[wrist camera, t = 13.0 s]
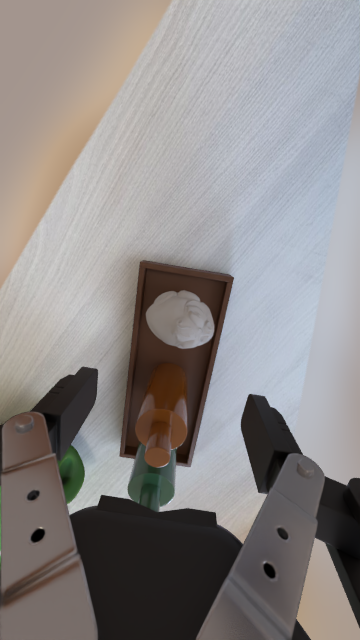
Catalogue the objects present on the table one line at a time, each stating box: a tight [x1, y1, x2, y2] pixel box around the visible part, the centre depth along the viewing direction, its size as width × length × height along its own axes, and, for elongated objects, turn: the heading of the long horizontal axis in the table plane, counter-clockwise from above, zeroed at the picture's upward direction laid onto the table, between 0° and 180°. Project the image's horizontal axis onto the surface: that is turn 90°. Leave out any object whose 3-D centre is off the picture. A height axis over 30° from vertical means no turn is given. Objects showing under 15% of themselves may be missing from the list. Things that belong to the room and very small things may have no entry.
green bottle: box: [128, 441, 177, 512], centre depth 28 cm, size 5×5×12 cm
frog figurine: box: [146, 290, 214, 349], centre depth 25 cm, size 6×7×7 cm
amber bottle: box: [135, 363, 188, 467], centre depth 26 cm, size 5×5×12 cm
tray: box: [120, 261, 234, 467], centre depth 30 cm, size 27×10×2 cm, turn 171°
